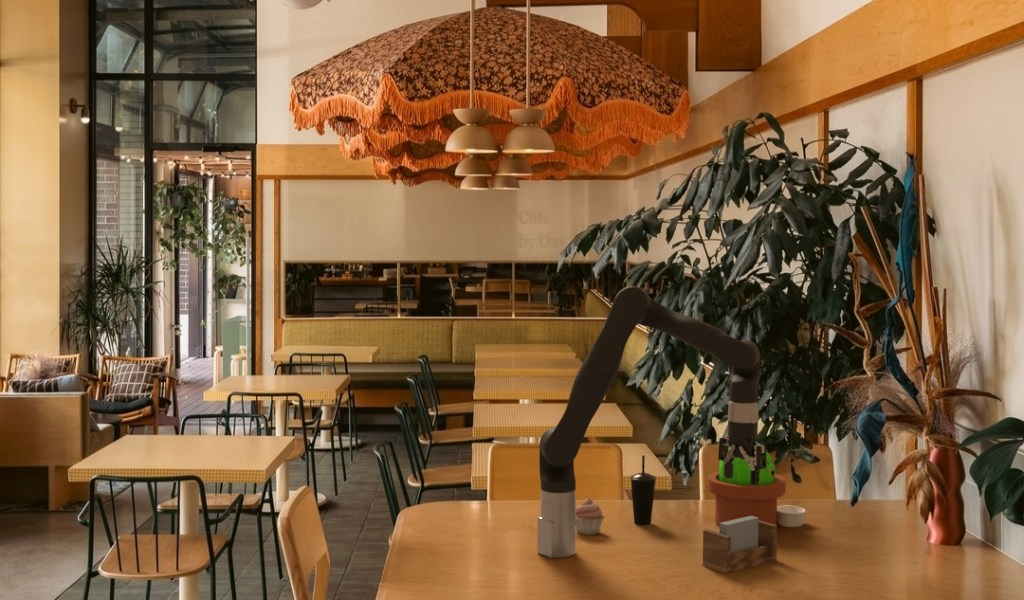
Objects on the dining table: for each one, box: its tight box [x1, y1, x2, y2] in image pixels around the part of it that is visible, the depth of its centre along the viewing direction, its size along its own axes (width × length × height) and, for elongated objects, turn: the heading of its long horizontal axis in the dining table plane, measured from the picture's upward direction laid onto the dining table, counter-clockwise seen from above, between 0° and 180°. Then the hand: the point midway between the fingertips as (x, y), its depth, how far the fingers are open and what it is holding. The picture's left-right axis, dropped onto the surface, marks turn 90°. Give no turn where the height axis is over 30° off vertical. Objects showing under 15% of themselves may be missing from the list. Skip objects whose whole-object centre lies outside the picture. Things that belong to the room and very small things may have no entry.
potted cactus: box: [707, 441, 787, 526], centre depth 319 cm, size 22×22×25 cm
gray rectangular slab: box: [718, 516, 759, 554], centre depth 283 cm, size 12×2×10 cm, turn 126°
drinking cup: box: [629, 455, 657, 526], centre depth 320 cm, size 8×8×20 cm
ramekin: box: [776, 504, 806, 528], centre depth 321 cm, size 9×9×4 cm
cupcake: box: [575, 497, 605, 536], centre depth 310 cm, size 9×9×10 cm
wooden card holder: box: [702, 520, 778, 574], centre depth 283 cm, size 19×8×9 cm, turn 126°
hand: (741, 481), depth 282 cm, fingers open, 8 cm apart
